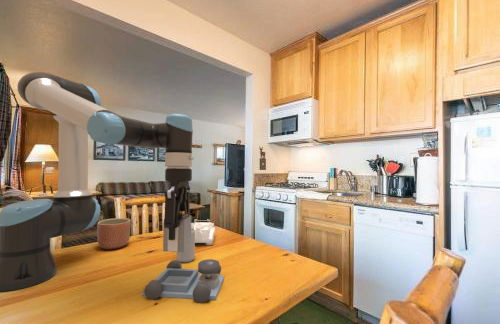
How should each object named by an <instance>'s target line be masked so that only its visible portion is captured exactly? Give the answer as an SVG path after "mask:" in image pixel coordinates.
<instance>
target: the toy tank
mask: <svg viewBox="0 0 500 324" xmlns="http://www.w3.org/2000/svg"><path fill="white" fill-rule="evenodd" d="M193 221H194V222H191V226H192V227H194V230H195V244H198V243H199V244H202V243H203V244H205V245H206V246H212V245H213V243H214V239H215V232H216V227H215V222H210V221H211V220H210V219H208V221H207V222H204V221H203V222H201V221H200V222H199V221H198V222H197V221H196V219H194V220H193Z"/></svg>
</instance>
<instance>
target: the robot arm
mask: <svg viewBox="0 0 500 324" xmlns="http://www.w3.org/2000/svg"><path fill="white" fill-rule="evenodd" d="M16 87H17V92H18V95H19V97H20V98H21V99H22V100H23V101H24V102H25V103H27V104H28V105H30V106H32V107H34V108H36V109H38V110H41V111H44V110H45V111H48V112H51V113H52V114H53V115H52V116H53V119H54V120H55V121H56V122H57V123H58V165H57V166H58V167H57V168H58V169H57V172H58V175H57V179H58V181H57V184H58V185H57V192H55V193H54V194H53V195H52V200H51V199H50V198H37V199H29V200H27V199H26V200H22V201H18V202H14V203H10V204H8V205H5V206H3V207H2V208H1V210H0V292H8V291H15V290H22V289H26V288H28V287H33V286H35V285H38V284H41V283H43V282H46V281H48V280H49V279H52V278H54V277H55V275H56V274H57V271H58V268H57V267H58V266H57V262H55V258H54V255H53V253H52V251H51V239H53V238H57V237H61V236H66V235H70V234H74V233H80V232H83V231H85V230H87V229H91V228H92V227H94V226H95V224H96V223H98V222H99V221H98V220H99V219H100V216H101V205H100V204H99V201H98V199H96V198H94V197H93V196H94V193H93V192H91V191H90V190H89V186H88V185H89V183H88V182H89V137H90V139H91V140H93V141H94V142H97V143H102V144H105V145H114V146H115V145H117V146H128V147H136V148H138V149H145V150H149V149H165V153H164V154H165V156H164V157H165V158H164V159H165V161H164V162H165V163H164V165H165V167H166V168H165V169H164V170H165V171H164V173H165V174H164V180H165V182H170V185H169V189H167V190H164V218H163V229H164V228H168V251H175V252H174V253H177V251H178V227H177V222H178V215H179V213H180V211H185V213H188V215H190V191H191V188H190V186H187V182H191V181H192V179H193V175H192V173H193V169H192V168H190V167H192V166H193V165H192V164H193V163H192V162H193V160H194V156H193V150H192V149H193V135H194V134H193V133H194V130H193V119H192V117H191V116H190V115H187V114H183V113H182V114H181V113H170V114H168V115H166V117H165V122H161V123H151V122H146V121H144V120H140V119H139V120H138V119H135V118H129V117H127V116H122V115H120V114H119V113H115V112H113V111H111V110H110V109H107V108H105V107H103V106H102V103H101V98H100V95H99V94H98V92H97V91H96V90H95V89H94V88H92V87H91V86H88V85H85V84H84V83H81V82H80V83H79V82H76V81H73V80H71V79H66V78H64V77H61V76H57V75H56V74H52V73H49V72H41V71H34V72H30V73H27V74H24V75H23V76H22V77H20V78H19V80H18V82H17V86H16Z"/></svg>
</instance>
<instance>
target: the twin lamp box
mask: <svg viewBox="0 0 500 324" xmlns="http://www.w3.org/2000/svg"><path fill="white" fill-rule="evenodd" d="M191 223H192V215H191V214H189V215H188V213H185V211H180V213H179V215H178V222H177V227H178V251H177V252H185V251H186V250H187V249H188V248H189V247H190V246H191ZM162 235H163V238H162V241H163V242H162V252H167V253H168V252H171V253H177V252H175V251H168V228H164V227H163V234H162Z"/></svg>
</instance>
